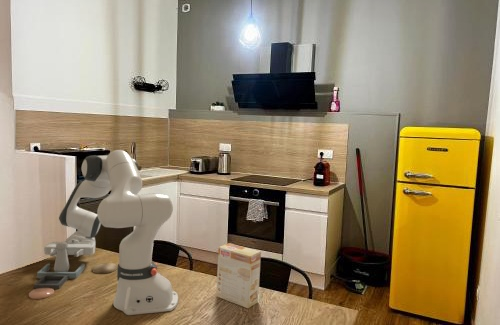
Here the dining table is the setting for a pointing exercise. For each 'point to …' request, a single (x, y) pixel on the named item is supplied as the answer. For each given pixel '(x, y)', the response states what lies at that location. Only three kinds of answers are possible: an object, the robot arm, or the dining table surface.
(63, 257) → the salt shaker
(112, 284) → the dining table surface
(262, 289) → the dining table surface
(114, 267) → the cork trivet
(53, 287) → the hole frame
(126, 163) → the robot arm
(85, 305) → the dining table surface
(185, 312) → the dining table surface
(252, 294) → the coffeecake box
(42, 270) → the cubby bay
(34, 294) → the coaster
